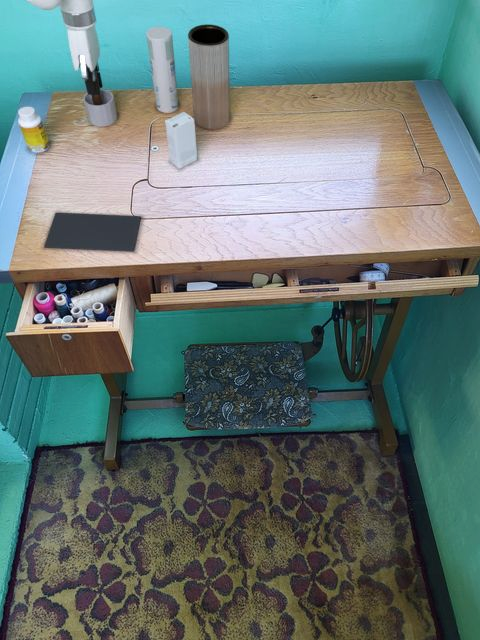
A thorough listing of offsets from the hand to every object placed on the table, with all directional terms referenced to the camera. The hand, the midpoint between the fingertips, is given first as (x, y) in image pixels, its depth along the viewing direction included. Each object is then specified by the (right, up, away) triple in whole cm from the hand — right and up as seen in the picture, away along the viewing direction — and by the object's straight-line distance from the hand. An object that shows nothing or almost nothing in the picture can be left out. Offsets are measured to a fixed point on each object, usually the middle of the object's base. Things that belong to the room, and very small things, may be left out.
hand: (95, 90), depth 138 cm
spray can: (+17, +1, +11) cm, 20 cm away
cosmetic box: (+24, -20, -2) cm, 31 cm away
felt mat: (+5, -41, -17) cm, 45 cm away
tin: (0, -4, +7) cm, 8 cm away
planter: (+30, -4, +9) cm, 32 cm away
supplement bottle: (-14, -16, -1) cm, 21 cm away
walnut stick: (0, -4, +5) cm, 7 cm away
